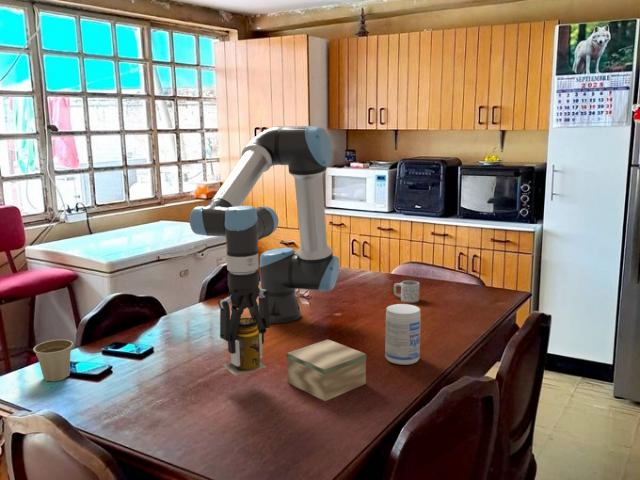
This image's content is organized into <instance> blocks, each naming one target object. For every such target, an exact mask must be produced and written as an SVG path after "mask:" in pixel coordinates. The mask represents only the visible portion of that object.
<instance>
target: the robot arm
mask: <svg viewBox="0 0 640 480" xmlns="http://www.w3.org/2000/svg"><path fill="white" fill-rule="evenodd" d="M332 154H333V147H332V142H331V138H330V135H329V133H328V132H327V131H326V129H325V128H324V127H321V126H312V125H295V126H273V127H270V128H268V129H265V130H264V131H262V132H261V131H260V133H258V134H257V135H256V136H254V137H253V138H252V139H251V140H250V141H248V143H247V144H246V145H245V146H244V148H243V149H242V152H241V156H240V157H241V158H240V159H239V160H238V162H237V163H236V165H235V166H234V168H233V169H232V170H231V171H230V173H229V175H228V176H227V177H226V179H225V180H224V181H223V183H222V184H221V186H220V187H219V189H218V190H217V192H216V193H215V194H214V195H213V197H212V198H211V199H210V201H209V203H208V204H207V205H206V206H204V205H201V206H196V207H195V206H194V208H192V210H191V213H190V215H189V226H190V229H191V231H192V233H194V234H196V235H201V236H205V237H206V236H207V237H225V243H226V245H225V246H226V269H227V271H228V272H227V286H228V290H229V291H228V294H227V297H225V298H224V299H218V301H217V303H218V308H219V311H220V312H219V313H220V314H219V333H220V334H219V338H220V339H221V340H223V341H226V342H227V350H228V353H229V354H230V361H231V362H230V363H232V364H234V365H236V366H240V349H239V340H237V339H236V338H237V333H238V328H239V324H240V319H241V318H242V315H243V313H244V310H245V309H248V311H249V315H250V318H254V319H256V320H257V329H258V331H259V350H260V360H261V359H263V344H264V342H265V334H266V333H267V329H270V328H271V324H284V323H285V324H286V323H290V322H294V321H297V320H299V319H300V318H301V310H302V309H301V308H300V307H301V306H300V304H299V301H298V299H297V296H296V289H297V290H307V291H315V292H316V291H318V292H330V291H332V290H333V289H334V288H335V286H336V283H337V280H338V276H339V273H340V259H339V257H338V256H336V255H334V254H333V248H332V247H331V246H329V245H328V238H327V236H328V235H327V225H326V209H325V199H324V185H323V174H325V172H326V171H327V166H330V164H331V162H332V157H333V155H332ZM273 166H287V167H288V173H289V174H290V175H291V176H292V177H293V179H294V188H295V189H294V190H295V197H296V198H295V199H296V209H297V210H296V211H297V219H298V230H299V240H300V241H299V242H300V248H298V250H297V251H295V249H294V248H292V247H283V248H282V247H281V248H276V249H275V248H274V249H270V250H266V251H264V252H262V253H261V254H260V257H259V241H260V240H262V239H264V238H266V237H269V236H271V235H272V234H273V233H275V231H276V230H277V229H278V226H279V216H278V214H277V212H276V211H275V210H274V209H273V208H271V207H268V206H258V207H254V206H252V205H243V204H244V202H245V201H246V200H247V198H248V196H249V195H250V194H251V192H252V190H253V188H254V187H255V186H256V184H257V182H258V181H259V179H260V178H261V176H262V174H263V173H267V171H269V170H270V168H271V167H273ZM258 269H259V270H258ZM259 286H260V287H259ZM257 300H258V302H257Z"/></svg>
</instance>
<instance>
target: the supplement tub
mask: <svg viewBox="0 0 640 480" xmlns="http://www.w3.org/2000/svg"><path fill="white" fill-rule="evenodd" d="M385 310H386V313H385V348H384V349H385V352H384V355H385V358H386V360H387V361H388V362H390V363H391V364H394V365H403V366H404V365H405V366H407V365H413V364H415V363H417V362H418V361H419V360H420V355H421V354H420V352H421V351H420V350H421V318H422V316H421V315H422V314H421V308H420V307H419V306H416V305H414V304H413V305H412V304H409V303H408V304H406V303H397V304H391V305H389V306H387V307H386V309H385Z"/></svg>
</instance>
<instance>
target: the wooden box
mask: <svg viewBox="0 0 640 480" xmlns="http://www.w3.org/2000/svg"><path fill="white" fill-rule="evenodd" d="M367 357H368V356H367V354H366V353H364V352H363V351H359V350H356V349H354V348H351V347H349V346H347V345H344V344H341V343H339V342H336V341H333V340H331V339H324V340H322V341H318V342H315V343H313V344H310V345H306V346H304V347H302V348H301V347H300V348H298V349H294V350H292V351H289V352H286V358H287V359H286V361H287V362H286V363H287V364H286V366H287V369H286V371H287V375H286V376H287V384H290V385H291V386H294V387H295V388H297V389H299V390H302V391H303V392H306V393H307V394H310V395H312V396H314V397H315V398H318V399H319V400H321V401H324V402H326V401H329V400H331V399H333V398H336V397H338V396H340V395H343V394H345V393H347V392H350V391H352V390H354V389H356V388H358V387H362V386H363V385H366V383H367V376H366V374H367Z"/></svg>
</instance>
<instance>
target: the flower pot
mask: <svg viewBox="0 0 640 480" xmlns="http://www.w3.org/2000/svg"><path fill="white" fill-rule="evenodd" d="M73 345H74V343H73V341H72V340H69V339H52V340H47V341H44V342H41V343H39V344H36V345H35V346H34V347H33V349H32V350H33V353H35V355H36V357H37V360H38V362H39V363H38V364H39V365H40V366H39V367H40V370H41V374H42V377H43V380H44V381H46V382H52V383H53V382H60V381H64V380H65V379H66V378H67V377H69V376H70V371H71V370H70V369H71V352H72V349H73V348H72V347H73Z"/></svg>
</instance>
